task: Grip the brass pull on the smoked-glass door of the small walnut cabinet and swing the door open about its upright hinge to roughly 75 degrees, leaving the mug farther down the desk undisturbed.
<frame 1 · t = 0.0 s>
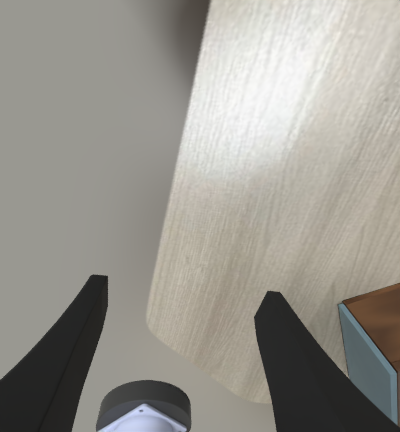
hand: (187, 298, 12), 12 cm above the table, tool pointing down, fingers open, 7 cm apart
glass door: (372, 383, 29), point 5 cm above the table, hinge at 0.0°
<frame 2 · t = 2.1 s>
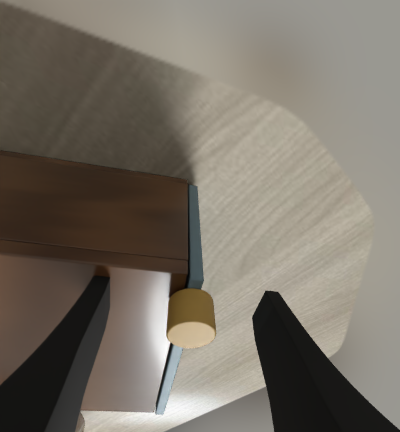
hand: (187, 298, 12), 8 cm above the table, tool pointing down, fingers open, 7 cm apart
cabinet: (86, 247, 21), on the table
glass door: (175, 314, 18), point 5 cm above the table, hinge at 0.0°
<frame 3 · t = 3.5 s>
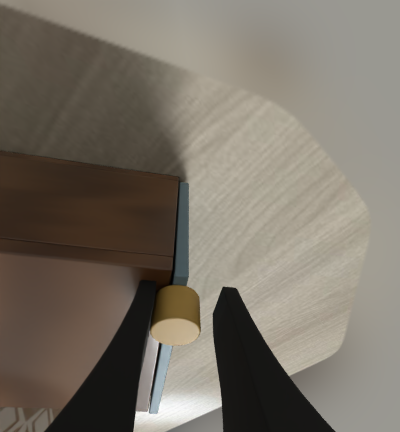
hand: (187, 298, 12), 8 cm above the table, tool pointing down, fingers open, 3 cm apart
planter: (16, 402, 37), on the table
cabinet: (80, 246, 21), on the table
glass door: (167, 312, 18), point 5 cm above the table, hinge at 0.0°, touching gripper
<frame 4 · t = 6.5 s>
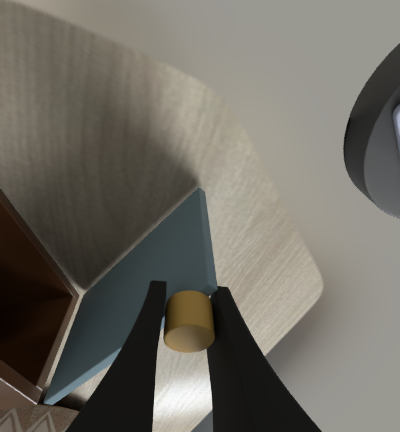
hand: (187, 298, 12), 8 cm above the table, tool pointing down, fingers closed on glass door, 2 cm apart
planter: (42, 416, 39), on the table
glass door: (125, 303, 16), point 5 cm above the table, hinge at 56.1°, touching gripper
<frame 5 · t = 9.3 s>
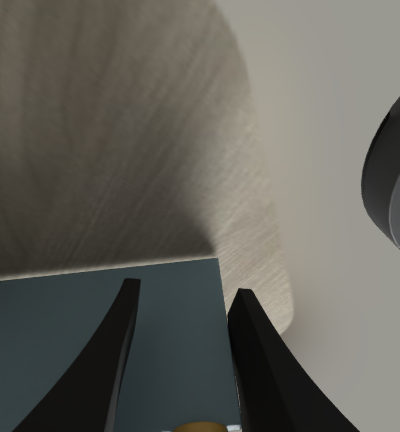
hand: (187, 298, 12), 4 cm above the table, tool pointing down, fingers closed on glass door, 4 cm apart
glass door: (72, 353, 12), point 5 cm above the table, hinge at 82.2°, touching gripper
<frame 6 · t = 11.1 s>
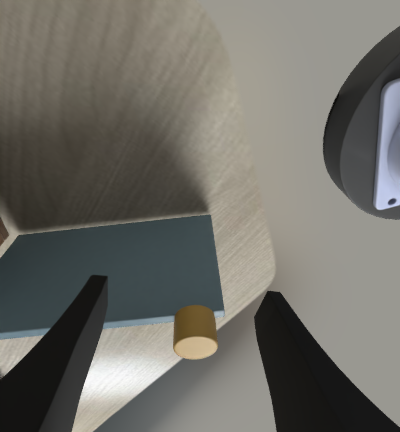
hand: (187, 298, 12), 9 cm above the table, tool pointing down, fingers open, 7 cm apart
glass door: (98, 277, 16), point 5 cm above the table, hinge at 82.3°
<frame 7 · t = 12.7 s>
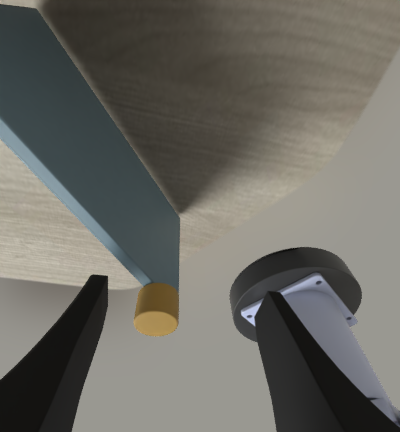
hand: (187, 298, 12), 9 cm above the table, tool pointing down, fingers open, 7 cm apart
glass door: (101, 174, 13), point 5 cm above the table, hinge at 82.3°
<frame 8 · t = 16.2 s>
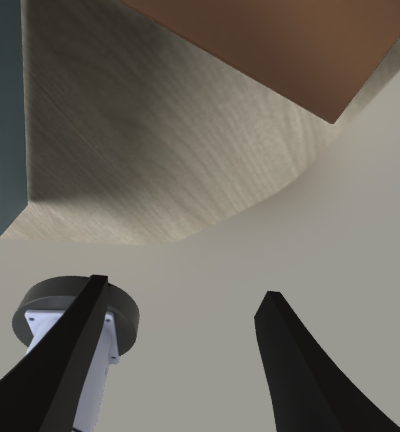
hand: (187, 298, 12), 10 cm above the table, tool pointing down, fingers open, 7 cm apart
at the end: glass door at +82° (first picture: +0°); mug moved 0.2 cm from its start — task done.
